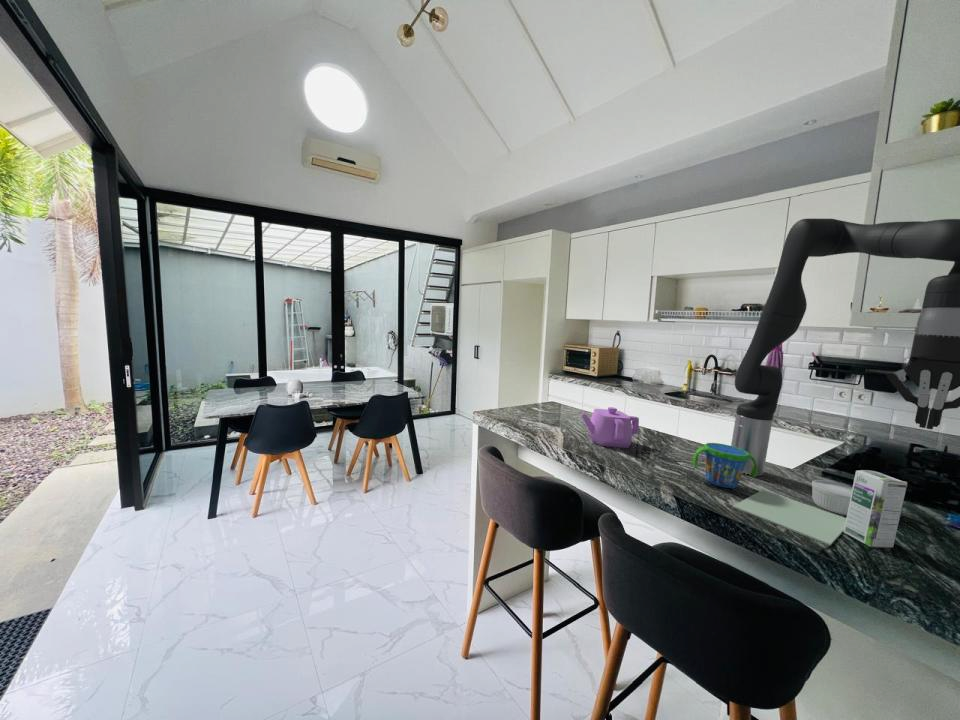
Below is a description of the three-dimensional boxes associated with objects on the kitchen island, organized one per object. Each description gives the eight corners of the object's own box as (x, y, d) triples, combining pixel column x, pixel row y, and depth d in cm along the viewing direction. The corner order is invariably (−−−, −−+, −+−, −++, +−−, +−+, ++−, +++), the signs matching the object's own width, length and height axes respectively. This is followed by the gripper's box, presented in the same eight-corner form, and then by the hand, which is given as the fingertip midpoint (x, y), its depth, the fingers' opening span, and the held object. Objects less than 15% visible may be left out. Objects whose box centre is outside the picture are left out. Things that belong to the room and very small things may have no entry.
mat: (762, 491, 106) (762, 489, 106) (851, 521, 92) (852, 520, 92) (732, 507, 94) (732, 505, 94) (830, 545, 80) (830, 543, 80)
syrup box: (841, 532, 86) (854, 469, 84) (865, 533, 87) (878, 470, 85) (869, 547, 80) (883, 480, 79) (895, 548, 81) (909, 481, 79)
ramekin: (830, 497, 106) (833, 479, 105) (879, 519, 95) (883, 498, 94) (797, 498, 103) (800, 479, 103) (844, 520, 92) (848, 499, 92)
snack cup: (747, 483, 111) (753, 448, 110) (760, 497, 101) (766, 460, 100) (686, 471, 116) (691, 438, 115) (693, 484, 106) (698, 448, 105)
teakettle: (620, 452, 129) (625, 416, 128) (575, 438, 141) (579, 404, 140) (641, 443, 141) (645, 410, 140) (598, 431, 153) (602, 400, 152)
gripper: (1006, 338, 67) (984, 436, 69) (896, 332, 78) (879, 417, 80) (1007, 337, 63) (983, 441, 65) (889, 330, 73) (871, 420, 75)
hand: (925, 427), depth 72 cm, fingers closed
